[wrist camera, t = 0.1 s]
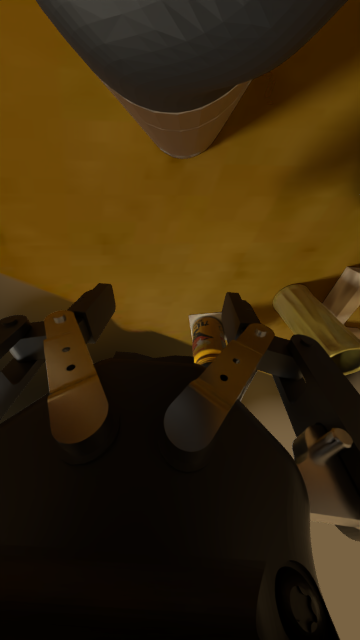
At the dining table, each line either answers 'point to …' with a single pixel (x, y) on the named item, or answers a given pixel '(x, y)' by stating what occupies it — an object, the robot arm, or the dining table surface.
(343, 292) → the notched board
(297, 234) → the dining table surface
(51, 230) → the dining table surface
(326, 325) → the vase
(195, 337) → the condiment
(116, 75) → the robot arm
